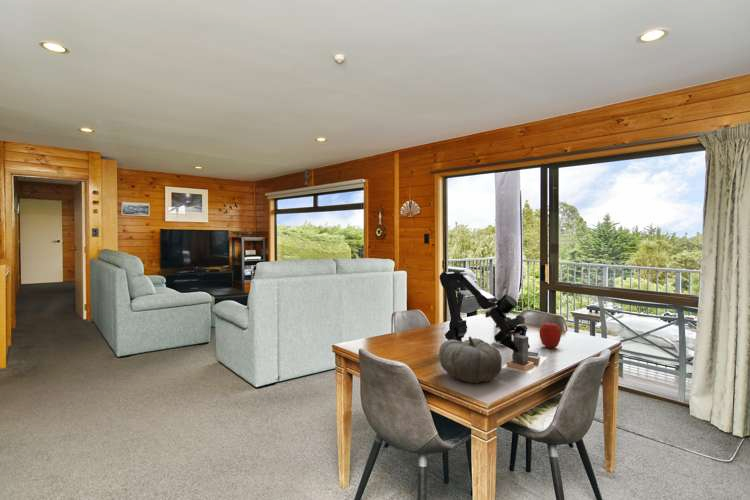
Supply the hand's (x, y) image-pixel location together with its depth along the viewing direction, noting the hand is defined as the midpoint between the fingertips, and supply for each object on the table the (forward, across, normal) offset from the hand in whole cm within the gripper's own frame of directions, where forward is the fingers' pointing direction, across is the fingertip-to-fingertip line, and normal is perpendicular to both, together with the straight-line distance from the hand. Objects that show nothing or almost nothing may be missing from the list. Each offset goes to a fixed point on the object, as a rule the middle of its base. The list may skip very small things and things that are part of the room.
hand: (523, 349), depth 166 cm
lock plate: (+4, +7, +8) cm, 12 cm away
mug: (-13, +26, +25) cm, 39 cm away
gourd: (0, -25, +13) cm, 28 cm away
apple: (0, +43, +12) cm, 45 cm away
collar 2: (+2, +15, +9) cm, 17 cm away
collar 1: (+4, 0, +6) cm, 8 cm away
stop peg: (+4, 0, +6) cm, 8 cm away
